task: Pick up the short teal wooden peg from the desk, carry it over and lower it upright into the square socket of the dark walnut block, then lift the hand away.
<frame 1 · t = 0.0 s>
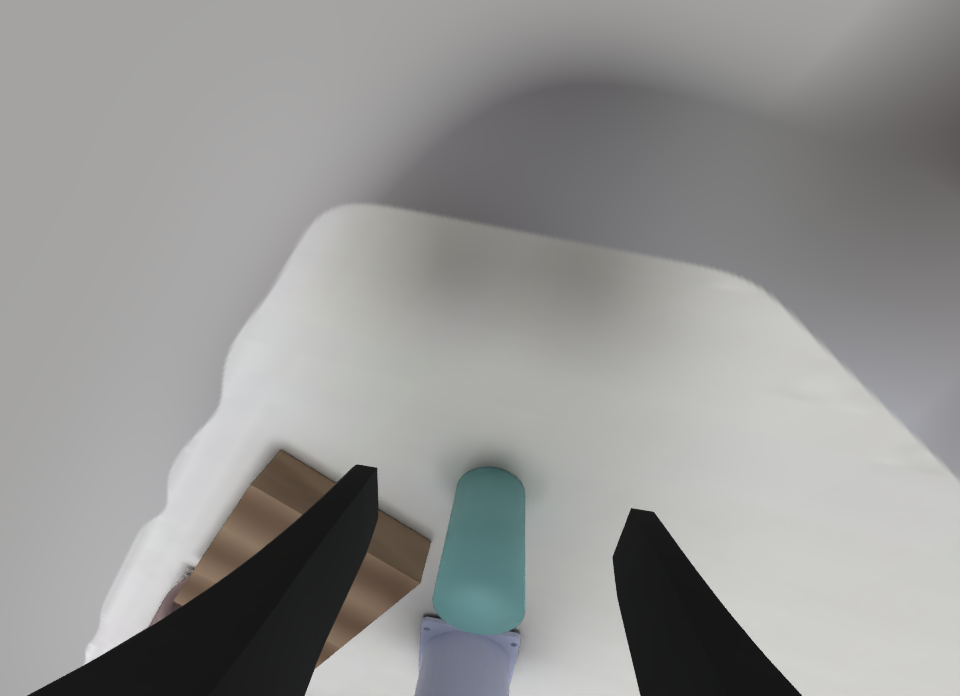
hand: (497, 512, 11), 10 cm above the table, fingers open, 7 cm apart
coil: (192, 616, 36), on the table
teal peg: (490, 493, 24), on the table
socket block: (309, 553, 29), on the table
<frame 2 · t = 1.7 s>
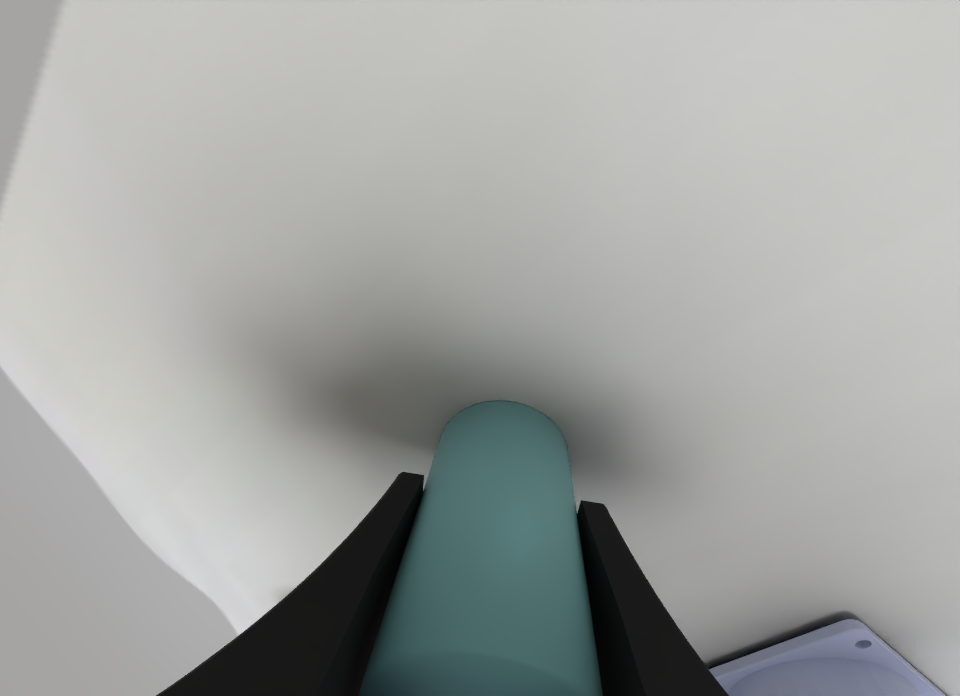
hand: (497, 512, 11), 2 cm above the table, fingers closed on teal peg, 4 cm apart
teal peg: (502, 455, 13), on the table, touching gripper
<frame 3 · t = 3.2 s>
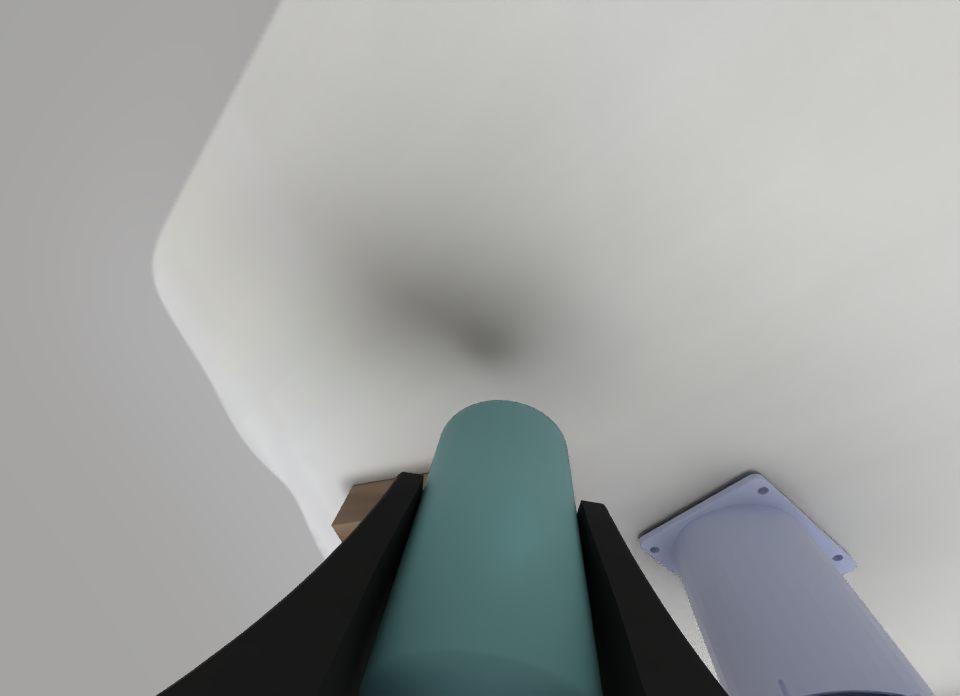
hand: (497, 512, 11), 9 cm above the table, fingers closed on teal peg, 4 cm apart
teal peg: (502, 454, 13), point 7 cm above the table, touching gripper
socket block: (479, 559, 26), on the table
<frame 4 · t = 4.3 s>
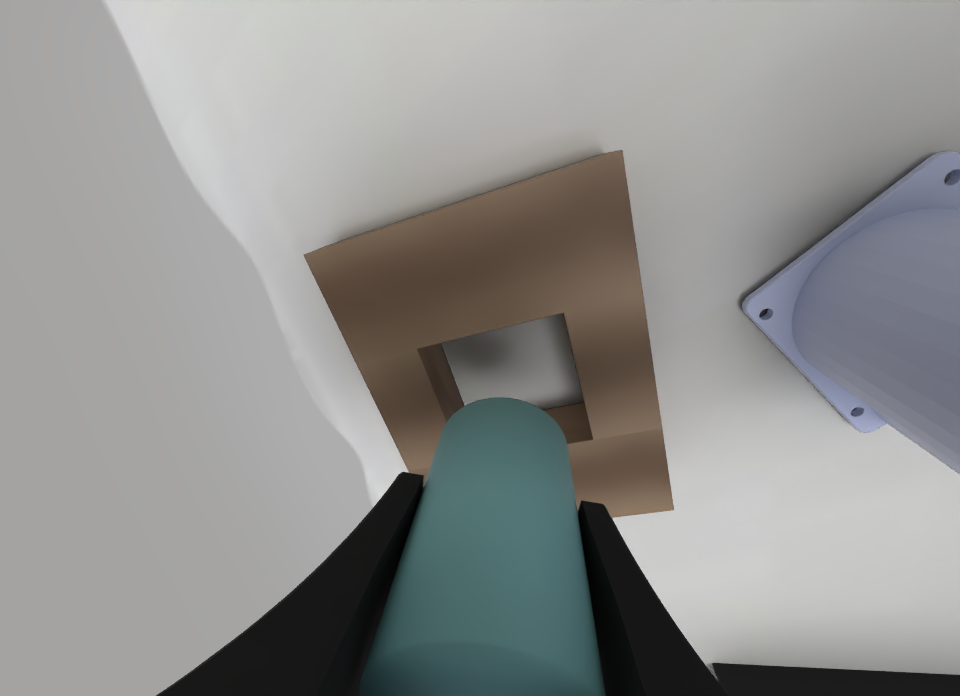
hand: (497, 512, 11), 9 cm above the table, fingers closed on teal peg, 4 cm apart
teal peg: (502, 452, 13), point 7 cm above the table, touching gripper
socket block: (510, 363, 19), on the table
when the fingers open (4 cm above the table, at t = 5.9 s): teal peg stays where it is, point 1 cm above the table.
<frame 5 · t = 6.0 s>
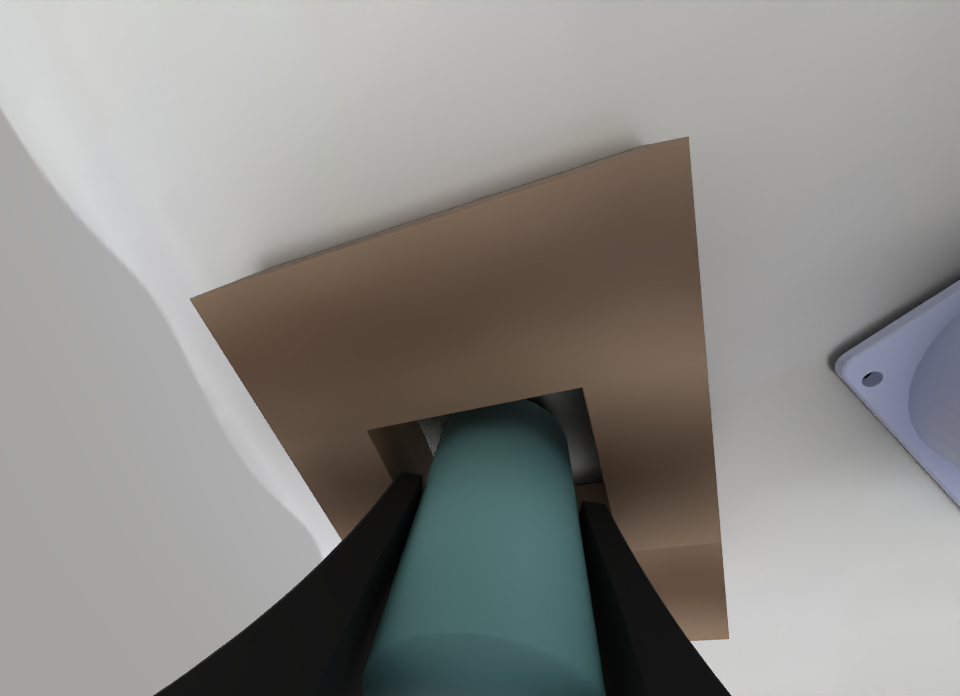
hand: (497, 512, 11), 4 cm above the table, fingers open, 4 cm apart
teal peg: (503, 450, 13), point 1 cm above the table
socket block: (504, 431, 14), on the table
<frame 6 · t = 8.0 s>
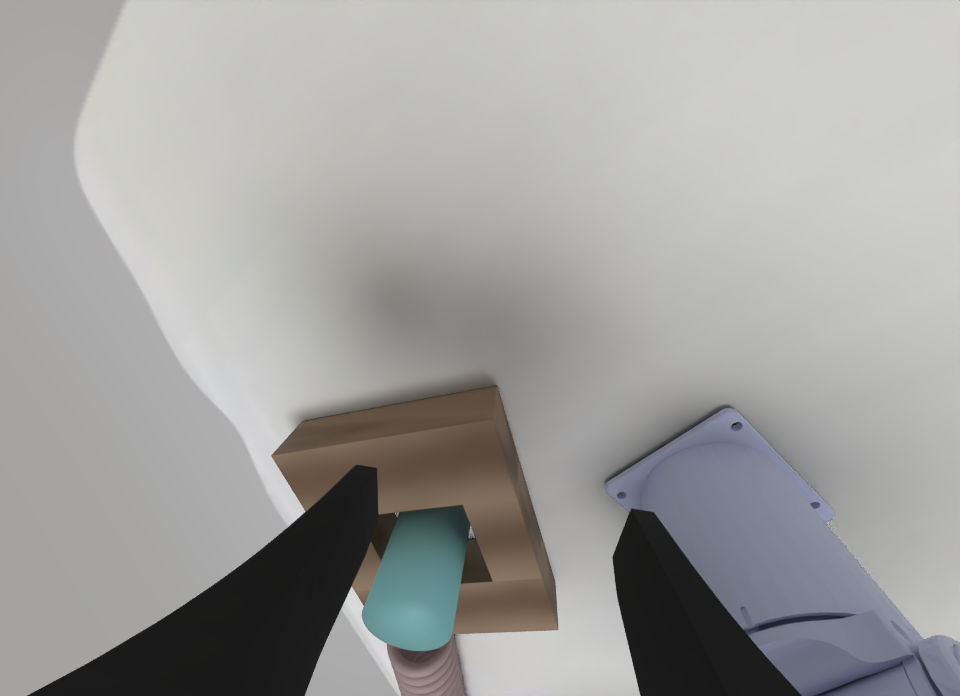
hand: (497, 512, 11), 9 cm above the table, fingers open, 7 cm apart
coil: (442, 659, 33), on the table
teal peg: (438, 506, 24), resting in socket block
socket block: (437, 507, 24), on the table
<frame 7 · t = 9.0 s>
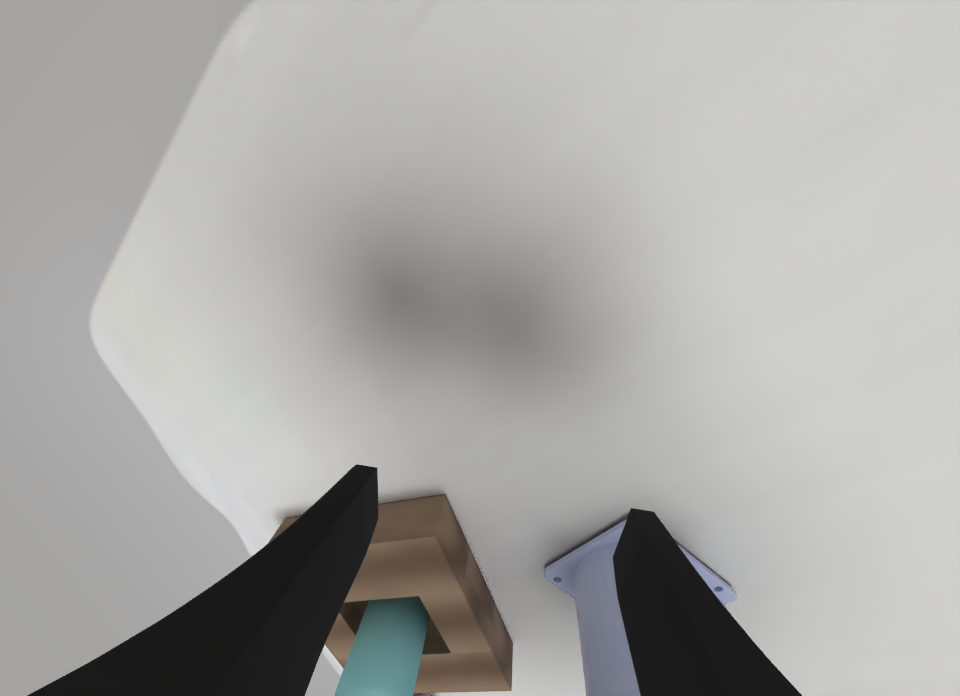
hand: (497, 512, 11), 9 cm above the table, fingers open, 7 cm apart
teal peg: (406, 583, 28), resting in socket block
socket block: (405, 584, 28), on the table
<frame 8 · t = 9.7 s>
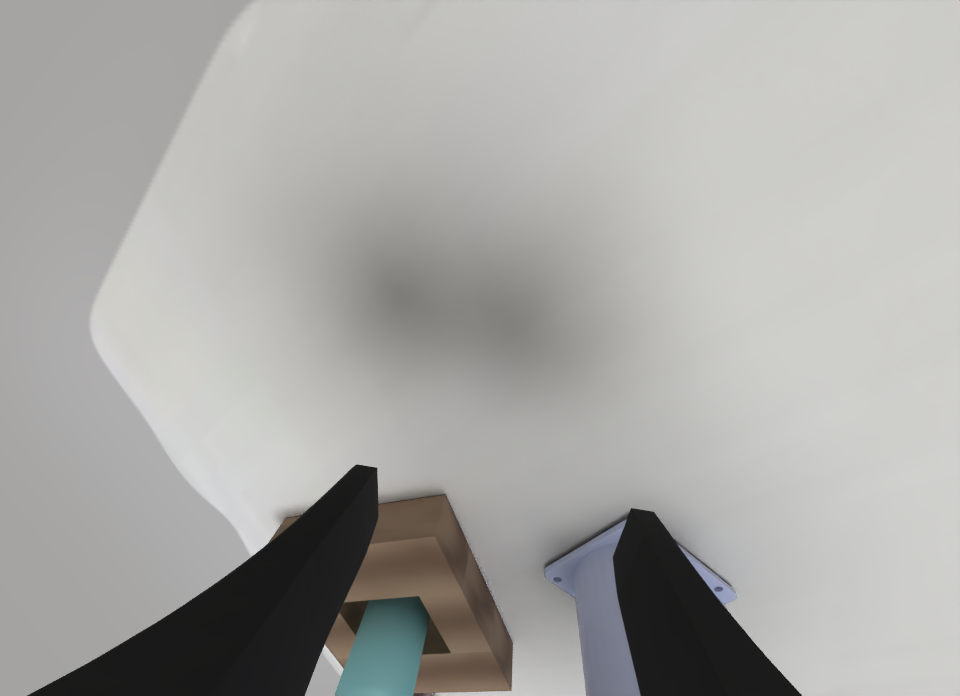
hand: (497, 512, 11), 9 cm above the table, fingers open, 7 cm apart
teal peg: (406, 583, 28), resting in socket block
socket block: (405, 584, 28), on the table
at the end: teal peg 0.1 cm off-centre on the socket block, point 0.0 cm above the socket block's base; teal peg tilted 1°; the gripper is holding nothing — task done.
